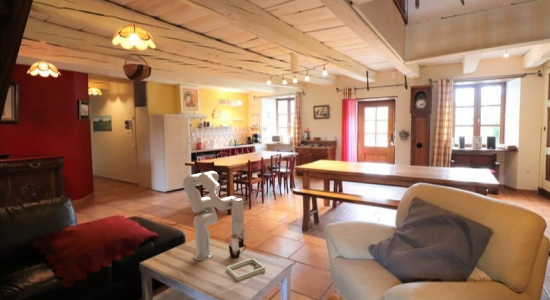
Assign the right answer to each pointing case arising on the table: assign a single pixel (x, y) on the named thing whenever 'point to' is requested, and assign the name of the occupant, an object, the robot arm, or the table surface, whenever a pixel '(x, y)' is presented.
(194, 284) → the table surface
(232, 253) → the coffee mug
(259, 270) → the tray frame
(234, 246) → the cylinder
